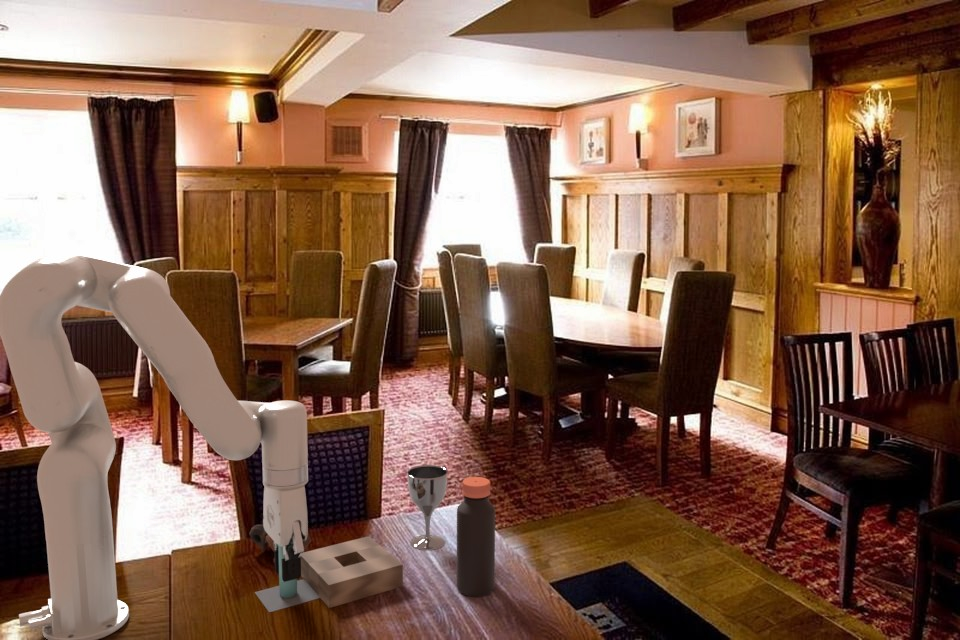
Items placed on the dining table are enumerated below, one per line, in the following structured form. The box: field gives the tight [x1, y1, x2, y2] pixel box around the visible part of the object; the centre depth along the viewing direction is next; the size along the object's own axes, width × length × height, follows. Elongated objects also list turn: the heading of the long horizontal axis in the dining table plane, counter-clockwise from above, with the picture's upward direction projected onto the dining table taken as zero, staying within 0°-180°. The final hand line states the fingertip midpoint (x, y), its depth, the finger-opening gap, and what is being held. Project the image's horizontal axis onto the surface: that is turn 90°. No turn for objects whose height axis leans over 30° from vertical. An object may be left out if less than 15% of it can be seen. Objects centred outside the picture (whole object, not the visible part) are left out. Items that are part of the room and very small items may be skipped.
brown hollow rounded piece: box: [249, 524, 312, 564], centre depth 152 cm, size 12×10×8 cm
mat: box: [254, 578, 321, 613], centre depth 137 cm, size 10×8×1 cm
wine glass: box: [407, 464, 448, 551], centre depth 157 cm, size 8×8×15 cm
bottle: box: [456, 476, 496, 597], centre depth 139 cm, size 7×7×20 cm
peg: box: [278, 538, 298, 598], centre depth 136 cm, size 3×3×12 cm
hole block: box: [300, 535, 404, 609], centre depth 142 cm, size 14×14×4 cm
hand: (287, 573), depth 136 cm, fingers closed on peg, 3 cm apart
